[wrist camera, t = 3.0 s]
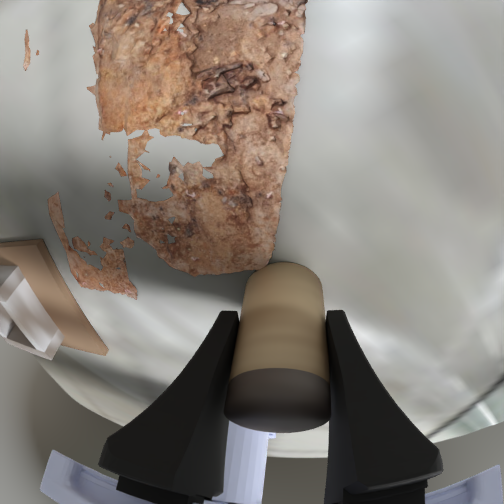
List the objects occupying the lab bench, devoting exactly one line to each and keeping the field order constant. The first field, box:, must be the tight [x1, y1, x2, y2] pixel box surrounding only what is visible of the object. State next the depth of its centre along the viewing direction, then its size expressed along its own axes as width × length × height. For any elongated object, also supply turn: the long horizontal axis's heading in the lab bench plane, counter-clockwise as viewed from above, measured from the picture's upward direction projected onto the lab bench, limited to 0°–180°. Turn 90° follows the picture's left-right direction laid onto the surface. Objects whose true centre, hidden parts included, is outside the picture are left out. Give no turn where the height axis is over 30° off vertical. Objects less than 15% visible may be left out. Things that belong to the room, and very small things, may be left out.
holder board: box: [0, 239, 108, 360], centre depth 15 cm, size 10×14×3 cm
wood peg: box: [224, 262, 331, 433], centre depth 10 cm, size 4×4×6 cm
